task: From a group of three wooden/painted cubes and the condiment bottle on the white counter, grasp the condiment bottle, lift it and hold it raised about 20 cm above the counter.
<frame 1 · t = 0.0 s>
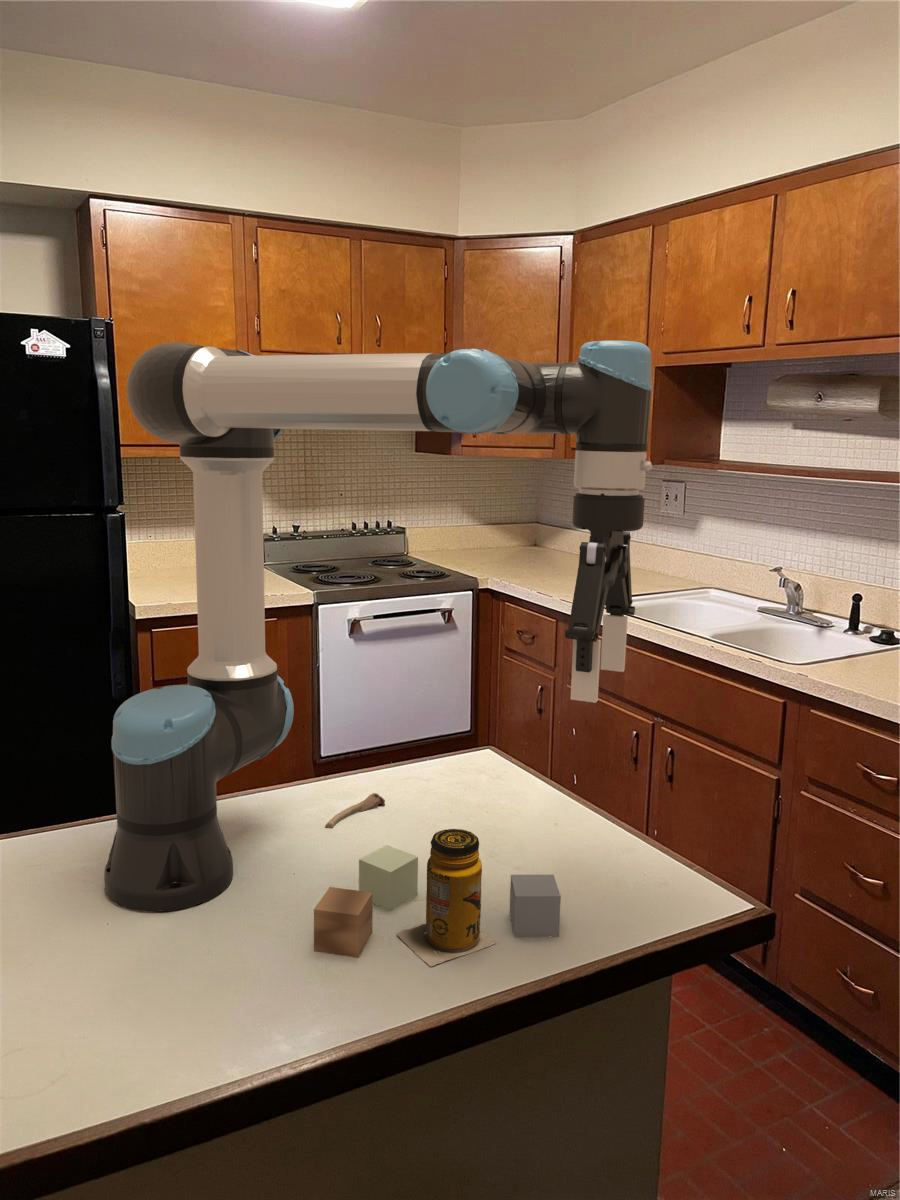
hand: (599, 684, 100), 28 cm above the counter, fingers open, 13 cm apart
sage cube: (388, 896, 109), on the counter
bone: (354, 818, 132), on the counter
walnut cube: (343, 942, 99), on the counter
slate cube: (533, 925, 103), on the counter
condiment: (445, 941, 100), on the counter
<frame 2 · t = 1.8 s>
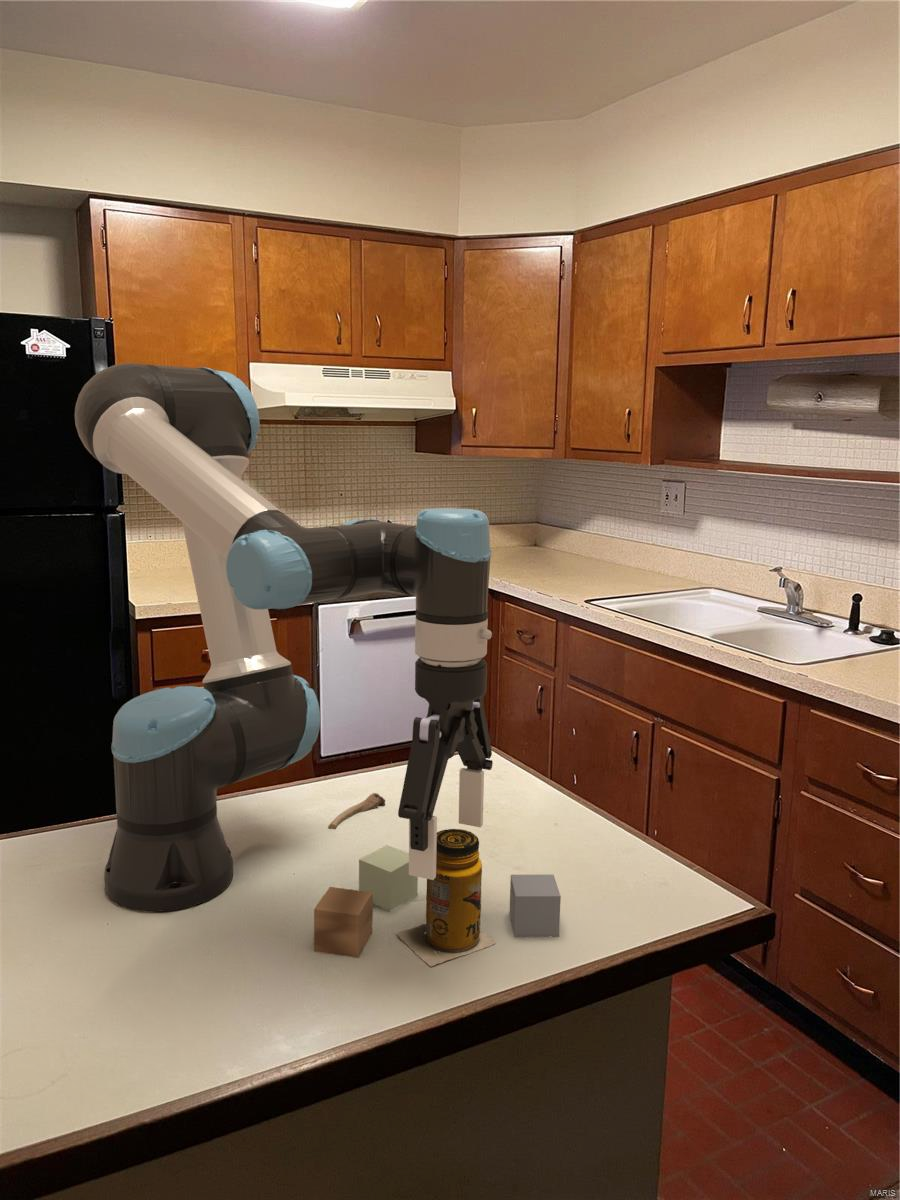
hand: (448, 848, 98), 11 cm above the counter, fingers open, 13 cm apart
nothing on the counter moved.
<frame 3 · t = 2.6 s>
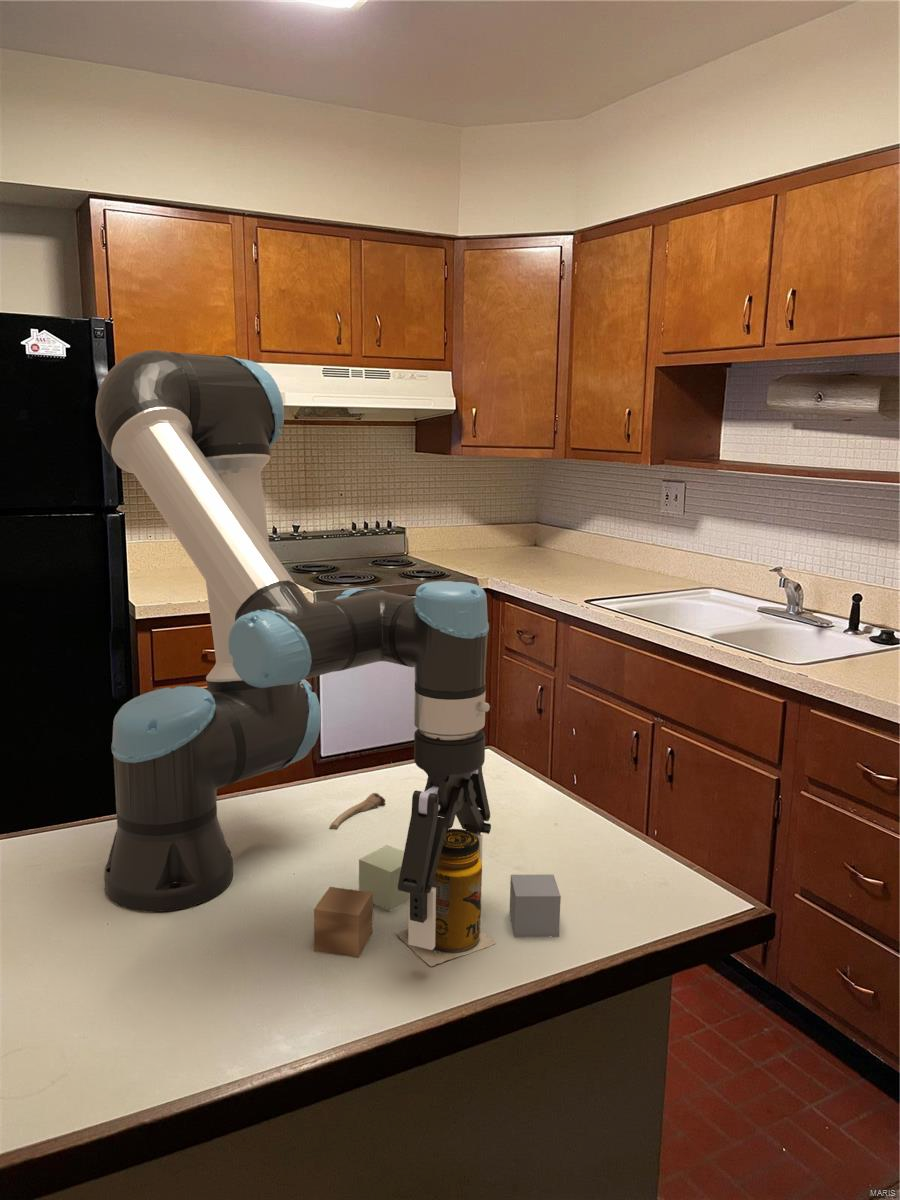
hand: (447, 914, 99), 3 cm above the counter, fingers open, 13 cm apart
nothing on the counter moved.
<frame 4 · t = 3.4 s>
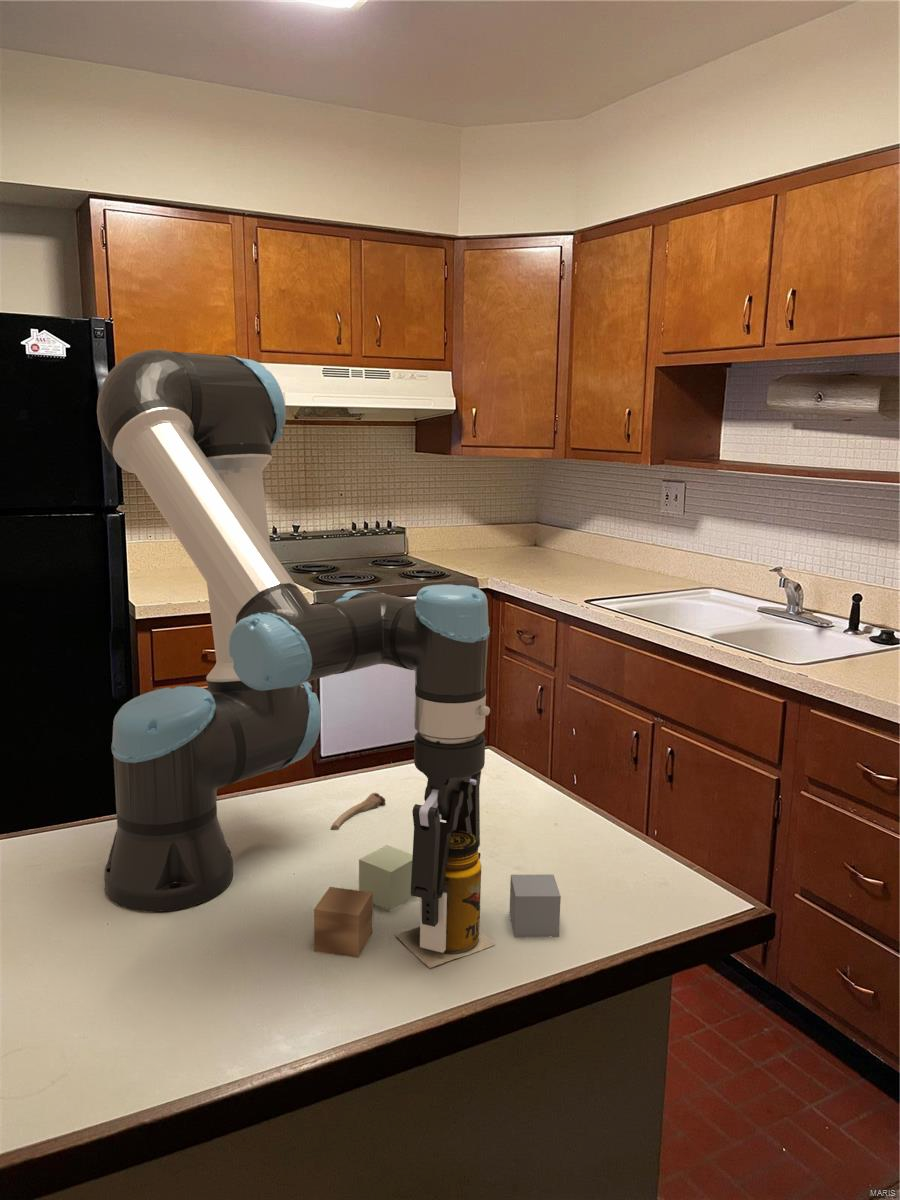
hand: (445, 930, 100), 1 cm above the counter, fingers open, 7 cm apart
condiment: (444, 943, 100), on the counter, touching gripper
everything else where it was.
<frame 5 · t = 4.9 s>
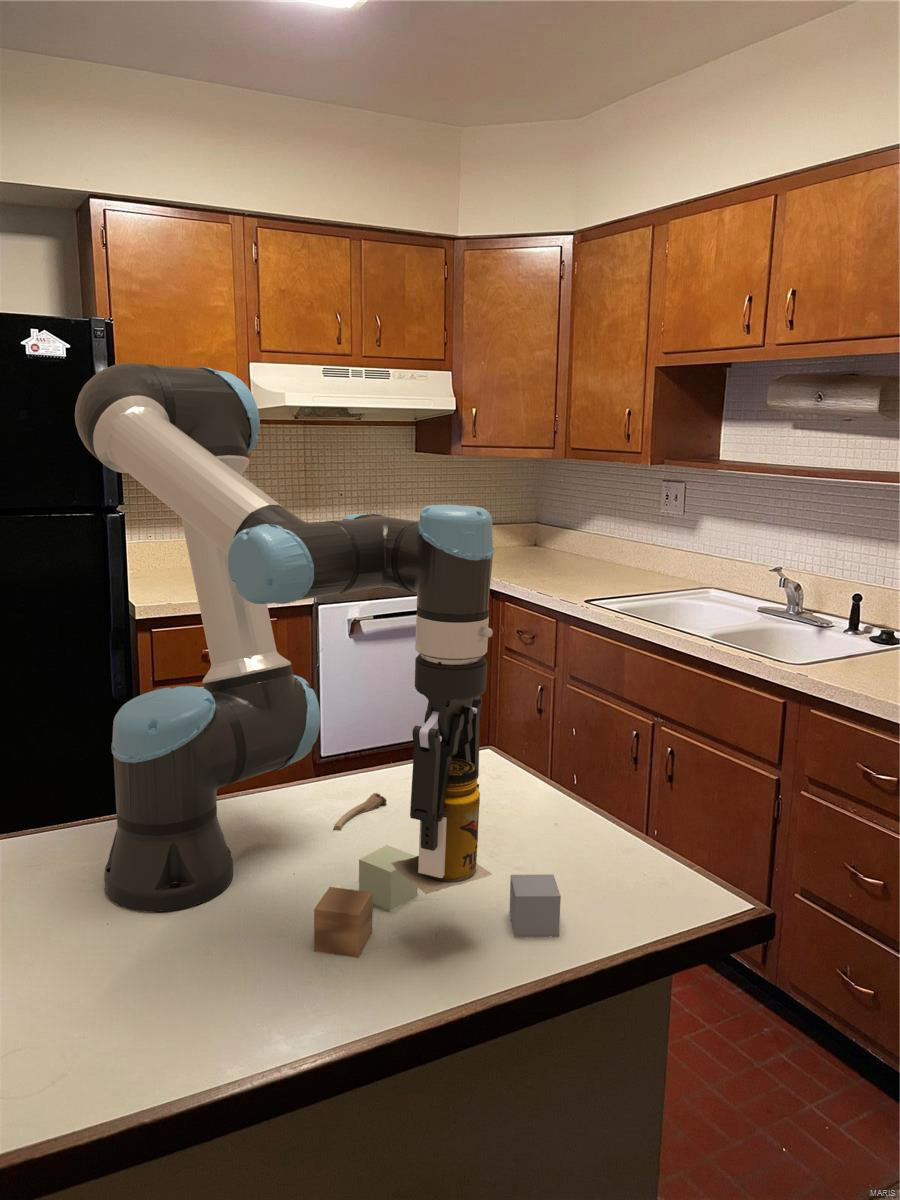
hand: (443, 859, 98), 9 cm above the counter, fingers closed on condiment, 6 cm apart
condiment: (441, 872, 98), point 8 cm above the counter, touching gripper
everything else where it was.
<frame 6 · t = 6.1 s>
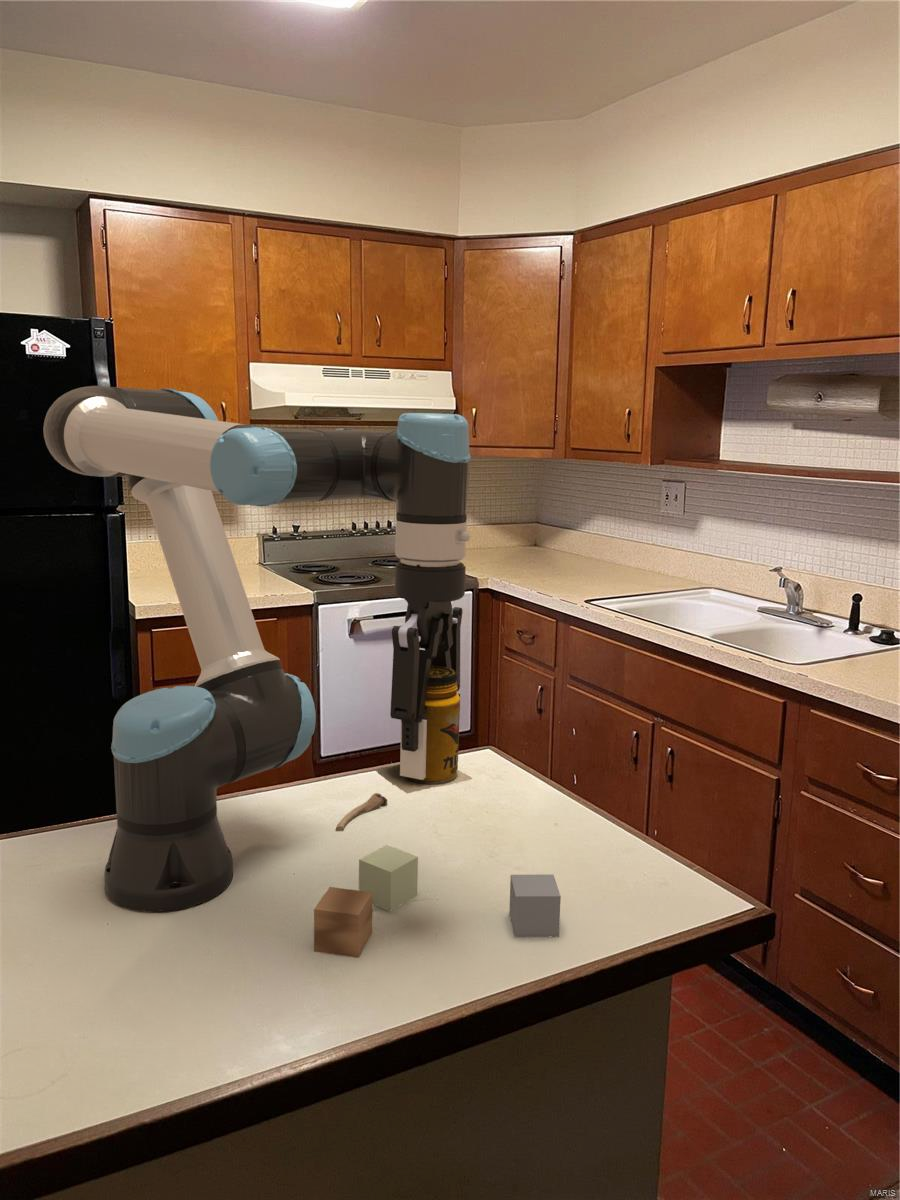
hand: (425, 765, 101), 19 cm above the counter, fingers closed on condiment, 6 cm apart
condiment: (423, 777, 100), point 17 cm above the counter, touching gripper
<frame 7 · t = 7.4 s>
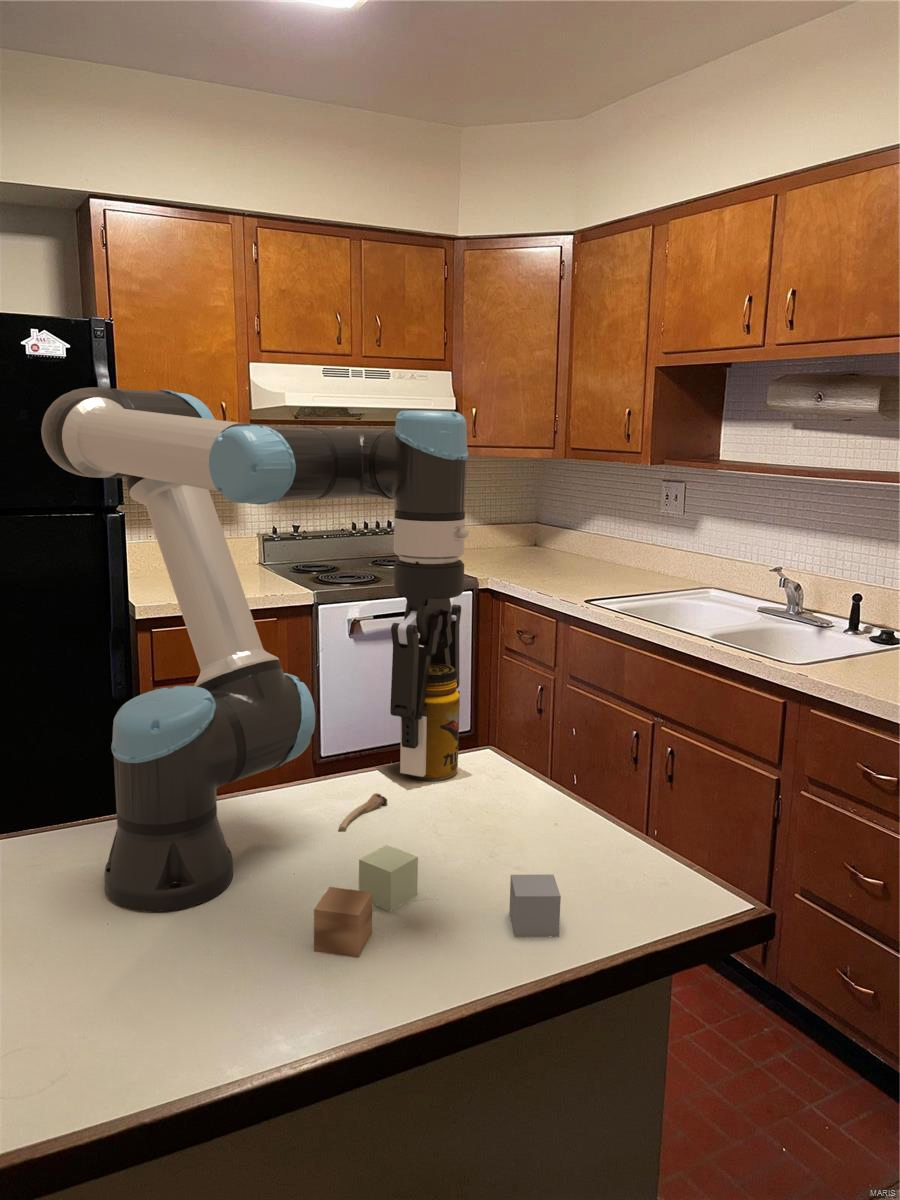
hand: (425, 763, 101), 19 cm above the counter, fingers closed on condiment, 6 cm apart
condiment: (423, 775, 100), point 18 cm above the counter, touching gripper
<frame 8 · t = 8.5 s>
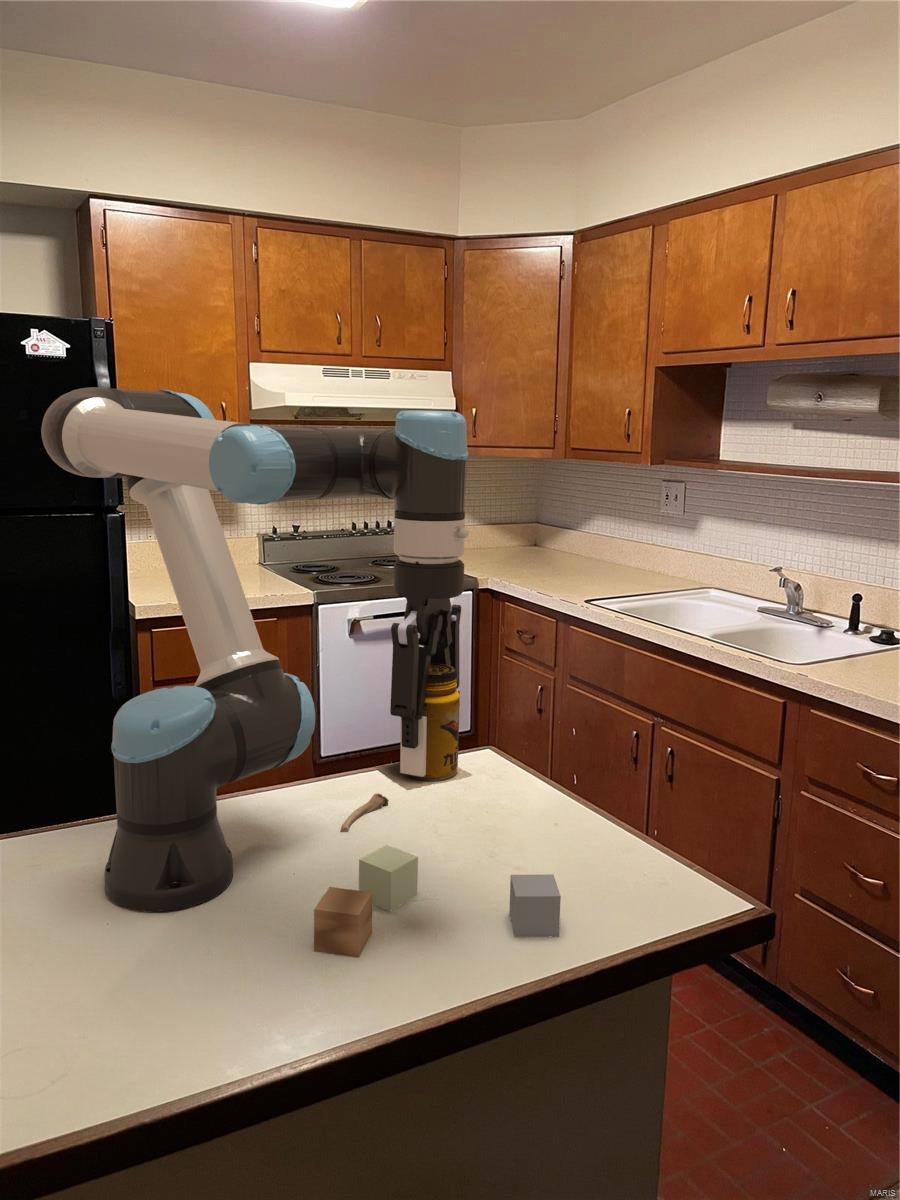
hand: (425, 763, 101), 19 cm above the counter, fingers closed on condiment, 6 cm apart
condiment: (423, 775, 100), point 18 cm above the counter, touching gripper
at the end: the gripper is holding condiment; condiment point 17.7 cm above the counter; slate cube moved 0.1 cm from its start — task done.
